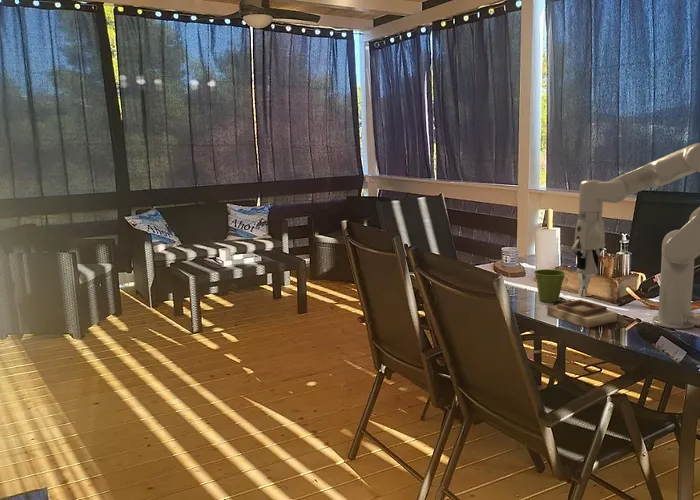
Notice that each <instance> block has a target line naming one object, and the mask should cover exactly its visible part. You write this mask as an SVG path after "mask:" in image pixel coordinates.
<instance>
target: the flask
mask: <svg viewBox="0 0 700 500" xmlns="http://www.w3.org/2000/svg"><path fill="white" fill-rule="evenodd" d="M584 258H586V265H585V269H584V270H583V269H579V268H577V267H576V268H577V269H576V271H575V272H576V273H577V274H578V273H579V274H596V275H597V274H599V270H598V267H596V264H595V261H594V258H593V252H592V250H586V254H585V257H584Z"/></svg>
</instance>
